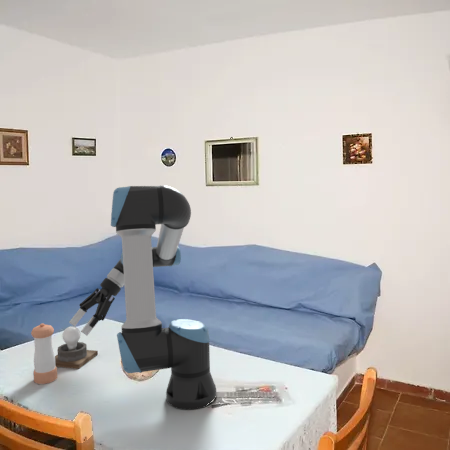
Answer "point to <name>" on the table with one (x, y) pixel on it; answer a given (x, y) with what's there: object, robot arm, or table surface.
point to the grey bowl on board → (74, 356)
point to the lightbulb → (71, 337)
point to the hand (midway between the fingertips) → (77, 329)
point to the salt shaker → (44, 354)
